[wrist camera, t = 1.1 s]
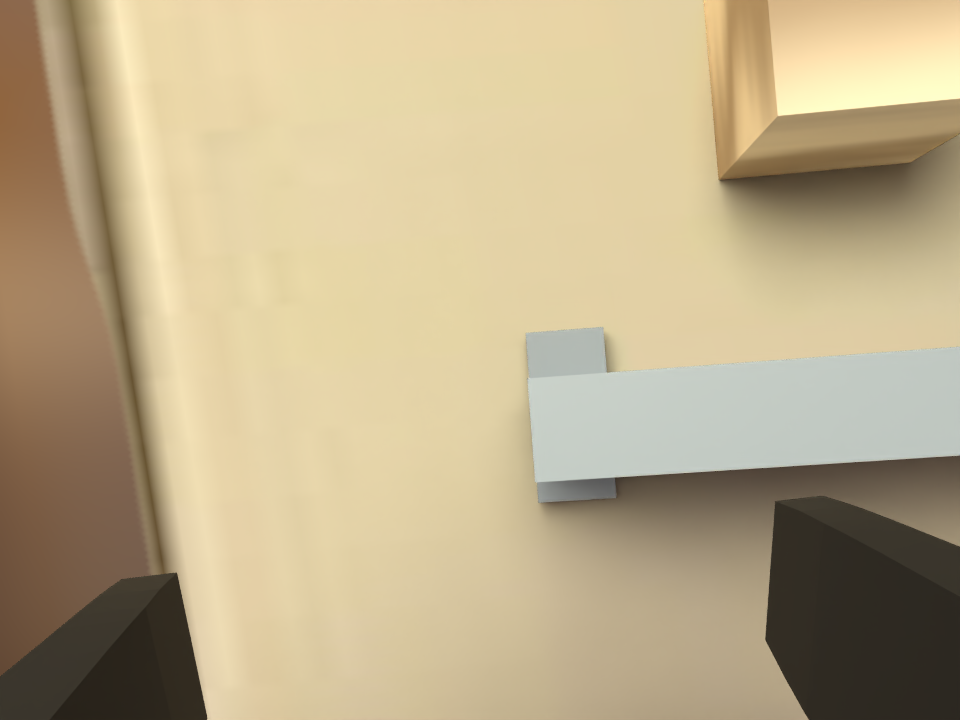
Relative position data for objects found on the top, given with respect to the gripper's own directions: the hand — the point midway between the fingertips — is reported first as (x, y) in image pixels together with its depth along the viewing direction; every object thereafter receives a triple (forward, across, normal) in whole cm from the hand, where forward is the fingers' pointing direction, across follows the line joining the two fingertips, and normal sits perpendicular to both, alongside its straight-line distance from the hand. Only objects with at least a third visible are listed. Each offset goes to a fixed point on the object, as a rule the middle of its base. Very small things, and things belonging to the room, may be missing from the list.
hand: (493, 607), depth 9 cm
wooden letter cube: (+13, -11, -6) cm, 18 cm away
